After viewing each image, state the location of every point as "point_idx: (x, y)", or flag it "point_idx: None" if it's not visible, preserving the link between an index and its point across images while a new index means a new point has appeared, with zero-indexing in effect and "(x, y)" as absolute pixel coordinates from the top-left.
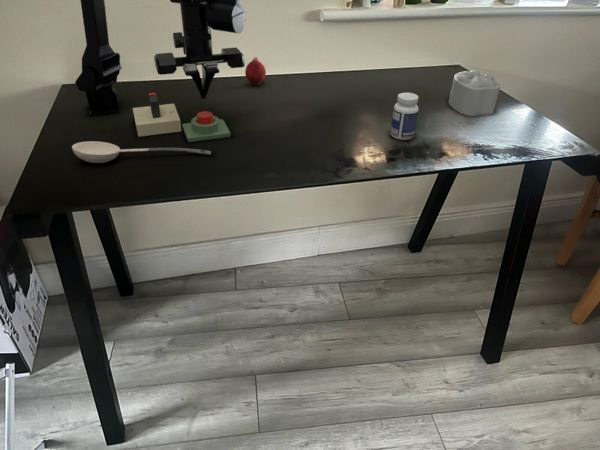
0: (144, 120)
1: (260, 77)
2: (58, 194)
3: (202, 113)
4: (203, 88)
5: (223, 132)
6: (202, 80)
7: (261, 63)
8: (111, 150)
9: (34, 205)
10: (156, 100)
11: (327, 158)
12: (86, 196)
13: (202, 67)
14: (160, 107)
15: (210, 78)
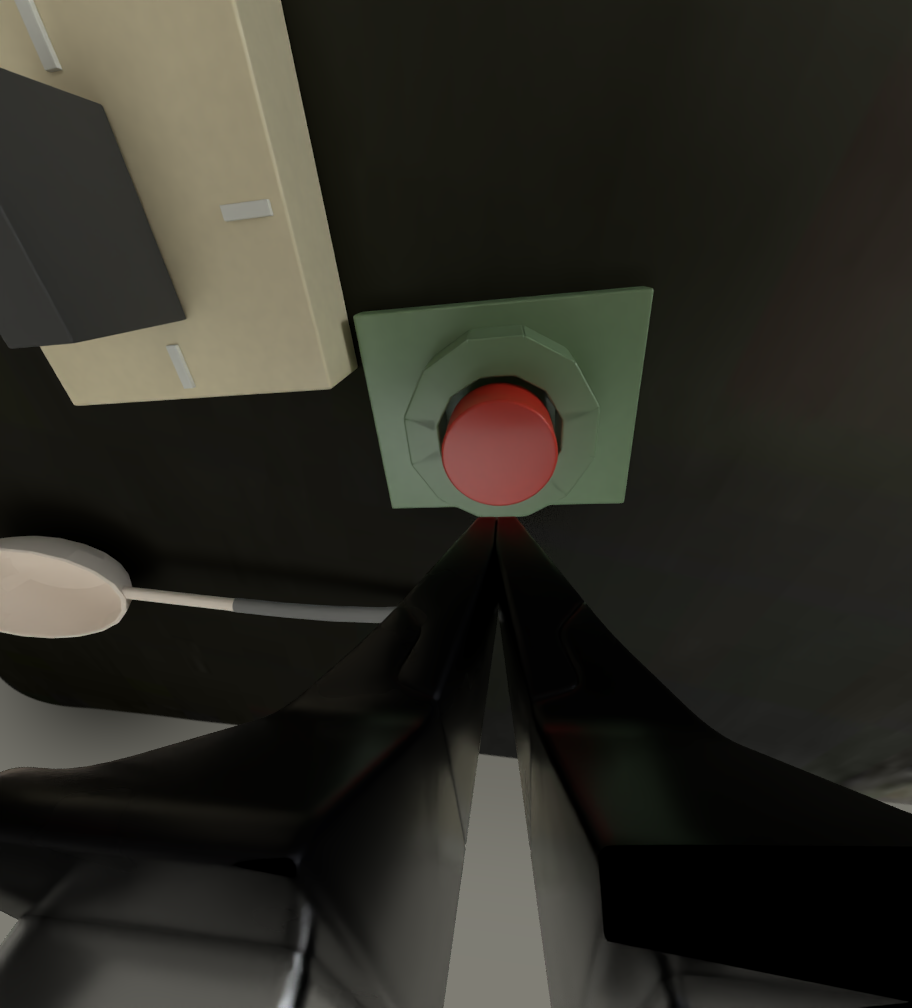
0: (93, 347)
1: None
2: (75, 672)
3: (484, 438)
4: (503, 641)
5: (587, 491)
6: (513, 643)
7: None
8: (88, 553)
9: (50, 691)
10: (44, 320)
11: (907, 724)
12: (150, 693)
13: (569, 889)
14: (105, 50)
15: (608, 886)
